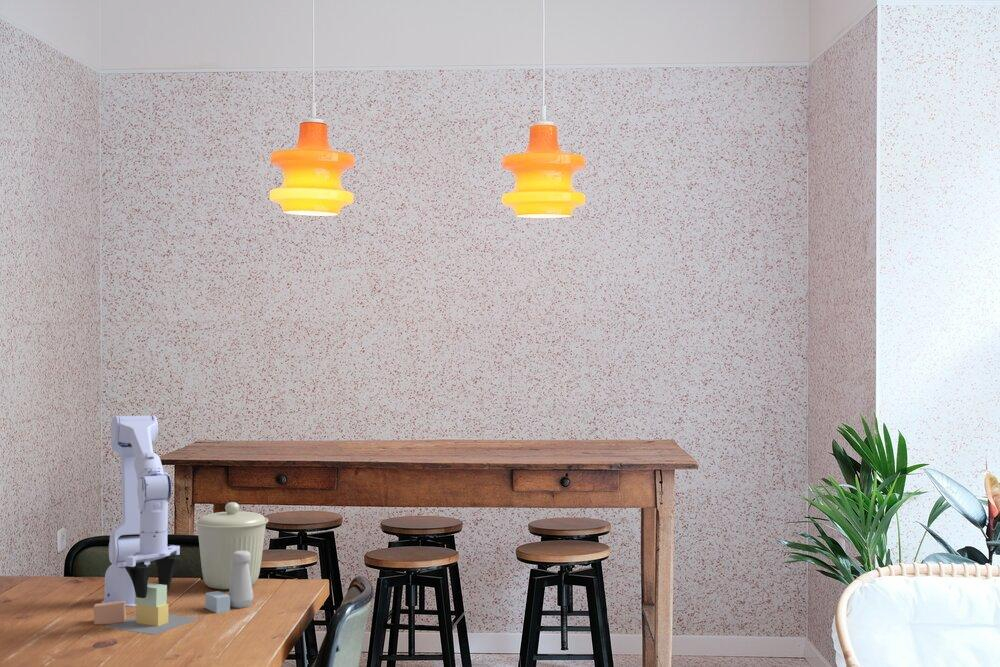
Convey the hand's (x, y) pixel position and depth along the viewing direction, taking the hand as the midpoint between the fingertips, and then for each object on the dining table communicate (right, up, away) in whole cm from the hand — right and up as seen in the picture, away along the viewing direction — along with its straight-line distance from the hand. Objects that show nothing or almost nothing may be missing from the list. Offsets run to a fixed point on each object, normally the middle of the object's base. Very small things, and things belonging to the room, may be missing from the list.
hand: (152, 593), depth 216 cm
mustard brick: (0, -6, 0) cm, 6 cm away
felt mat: (0, -7, 0) cm, 7 cm away
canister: (+7, -8, +37) cm, 38 cm away
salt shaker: (+15, -7, +15) cm, 23 cm away
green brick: (0, -2, 0) cm, 2 cm away
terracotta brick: (-9, -6, +1) cm, 11 cm away
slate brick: (+11, -7, +12) cm, 17 cm away
